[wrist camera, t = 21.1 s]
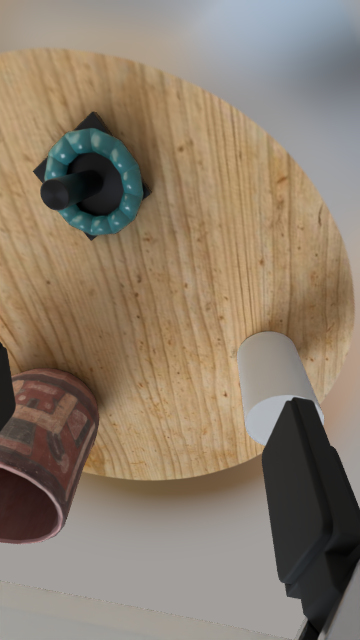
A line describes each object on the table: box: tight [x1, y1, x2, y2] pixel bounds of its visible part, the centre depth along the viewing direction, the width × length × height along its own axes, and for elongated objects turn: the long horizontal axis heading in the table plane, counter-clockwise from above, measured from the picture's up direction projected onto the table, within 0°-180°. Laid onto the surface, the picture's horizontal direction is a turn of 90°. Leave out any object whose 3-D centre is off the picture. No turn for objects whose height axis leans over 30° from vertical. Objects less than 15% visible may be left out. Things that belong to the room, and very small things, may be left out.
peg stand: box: [33, 112, 152, 241], centre depth 29 cm, size 9×9×10 cm
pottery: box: [0, 368, 99, 544], centre depth 43 cm, size 18×18×18 cm
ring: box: [44, 128, 144, 236], centre depth 32 cm, size 10×10×2 cm
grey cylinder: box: [237, 331, 324, 446], centre depth 38 cm, size 8×8×12 cm
